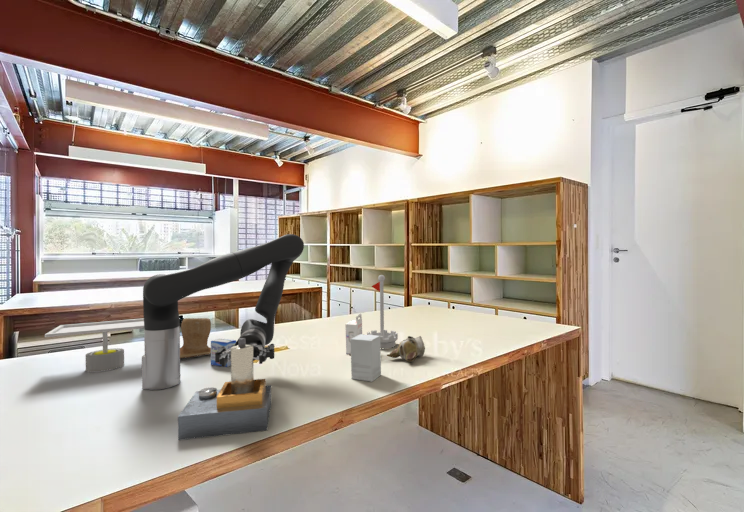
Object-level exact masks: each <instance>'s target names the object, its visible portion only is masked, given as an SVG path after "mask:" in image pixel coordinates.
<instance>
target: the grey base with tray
mask: <svg viewBox="0 0 744 512" xmlns="http://www.w3.org/2000/svg"><path fill="white" fill-rule="evenodd" d="M271 408H272V385H271V384H270V385H269V384H268V385H267V384H266V378H260V379H259V378H258V379H257V378H256V379H254V393H244V394H233V395H231V381H225V382H223V385H222V387H221V389H217V388H216V387H206V388H202V389H199V390H197V391H195V392H194V393H193V395H192V397H191V398H190V399H189V401H188V402H187V404H186V405H185V406H184V407H183V409H182V410H181V411H180V413H179V414H178V416H177V433H178V434H177V437H178V438H177V439H178V441H181V440H190V439H191V440H192V439H200V438H201V439H202V438H207V437H208V438H210V437H218V436H228V435H235V434H236V435H238V434H246V433H257V432H264V431H268V427H269V421H270V415H271Z"/></svg>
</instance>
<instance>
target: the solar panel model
mask: <svg viewBox="0 0 744 512" xmlns="http://www.w3.org/2000/svg"><path fill="white" fill-rule="evenodd" d="M139 329H140V330H141V329H144V317H143V318H133V319H122V320H121V319H120V320H119V319H118V320H109V321H98V322H97V321H96V322H84V323H71V324H60V325H58V326H57V327H55V328H53V329H51V330H50V331H48V332H47V333H45V334H44V338H52V337H63V336H65V337H66V336H76V335H85V334H97V333H98V334H99V333H102V349H100V350H99V349H98V350H94V351H90V352H87V353H86V354H85V372H87V373H99V372H106V371H107V372H108V371H112V370H116V369H119V368H122V367H124V366H125V349H124V348H118V347H117V348H108V347H109V346H108V341H109V340H108V337H109V336H108V332H119V331H129V330H139Z"/></svg>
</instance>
